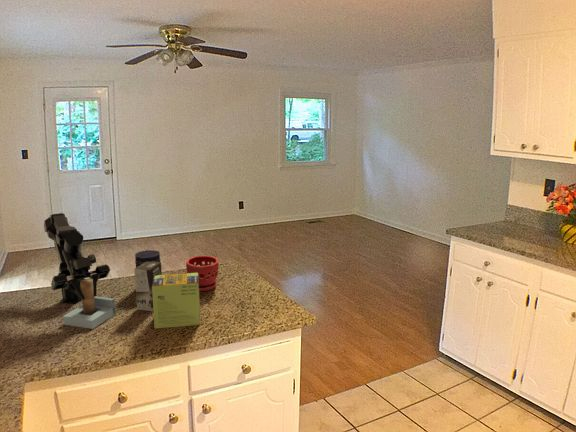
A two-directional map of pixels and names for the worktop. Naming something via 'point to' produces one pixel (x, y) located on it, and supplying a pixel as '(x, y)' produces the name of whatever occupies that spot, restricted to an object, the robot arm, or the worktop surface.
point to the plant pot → (204, 271)
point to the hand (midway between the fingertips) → (89, 297)
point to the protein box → (176, 300)
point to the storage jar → (146, 257)
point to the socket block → (103, 312)
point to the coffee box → (146, 284)
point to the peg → (88, 296)
